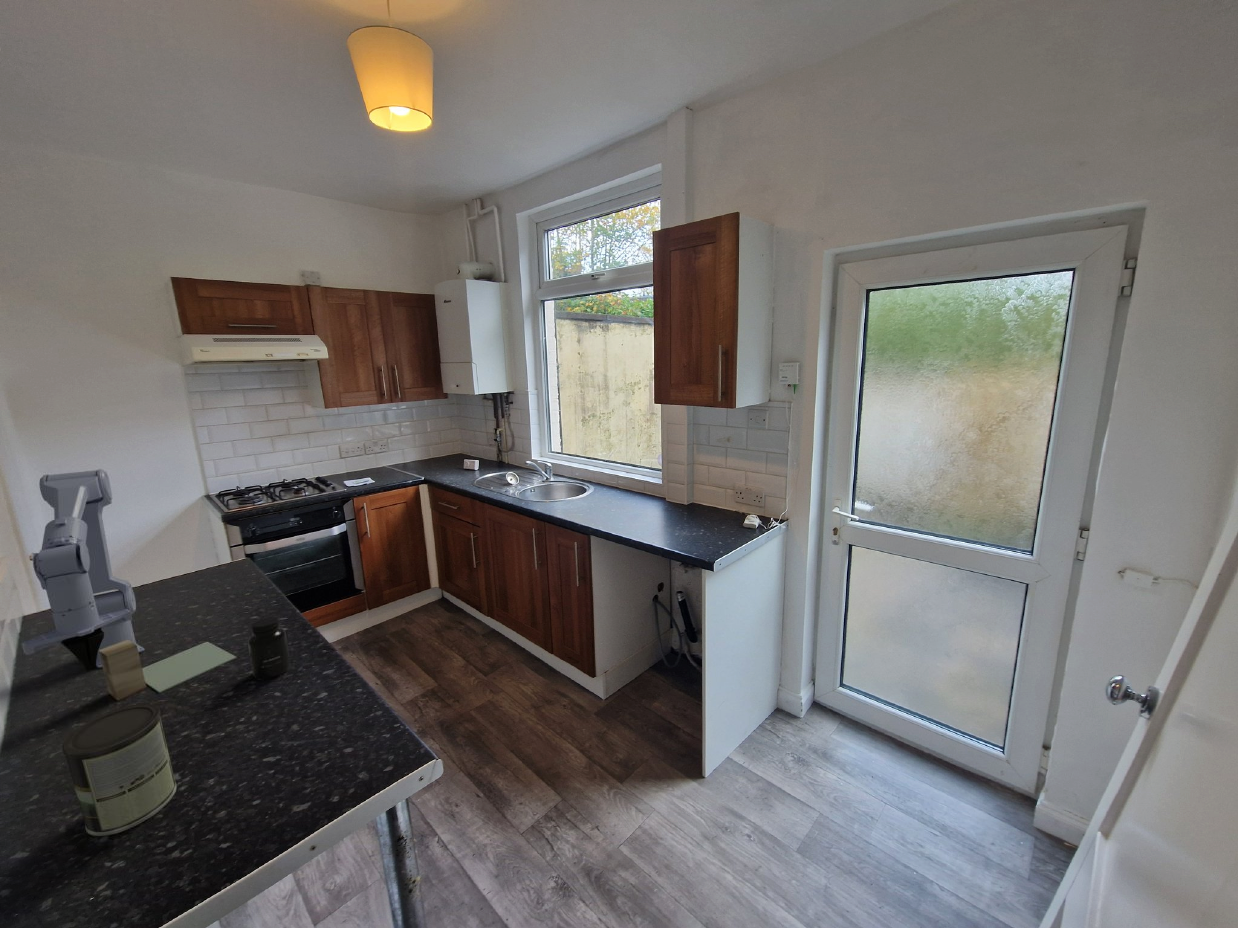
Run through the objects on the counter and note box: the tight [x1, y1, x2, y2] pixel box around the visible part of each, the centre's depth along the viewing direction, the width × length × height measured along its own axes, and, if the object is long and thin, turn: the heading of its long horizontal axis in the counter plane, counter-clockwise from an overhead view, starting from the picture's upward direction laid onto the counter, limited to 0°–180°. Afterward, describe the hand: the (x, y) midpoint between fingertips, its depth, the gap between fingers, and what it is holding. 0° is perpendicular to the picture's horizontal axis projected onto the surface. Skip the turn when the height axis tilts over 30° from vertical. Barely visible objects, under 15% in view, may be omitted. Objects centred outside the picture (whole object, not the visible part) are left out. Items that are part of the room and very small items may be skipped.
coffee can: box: [61, 703, 178, 837], centre depth 75 cm, size 10×10×14 cm
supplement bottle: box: [247, 616, 291, 681], centre depth 109 cm, size 7×7×12 cm
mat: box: [142, 641, 237, 694], centre depth 112 cm, size 14×14×1 cm
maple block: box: [99, 640, 147, 701], centre depth 103 cm, size 4×4×10 cm
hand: (89, 668), depth 99 cm, fingers closed
